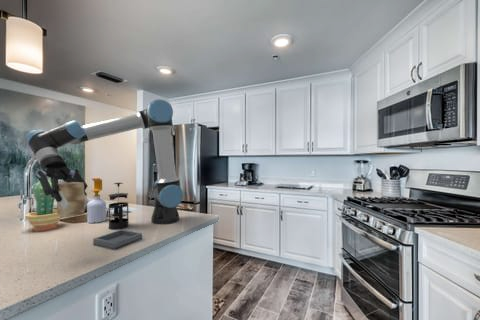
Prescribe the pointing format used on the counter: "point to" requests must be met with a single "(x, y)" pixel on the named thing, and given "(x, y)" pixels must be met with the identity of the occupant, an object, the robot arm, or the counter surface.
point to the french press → (118, 211)
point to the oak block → (71, 199)
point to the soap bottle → (96, 205)
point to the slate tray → (117, 239)
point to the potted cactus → (43, 210)
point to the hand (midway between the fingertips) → (76, 205)
